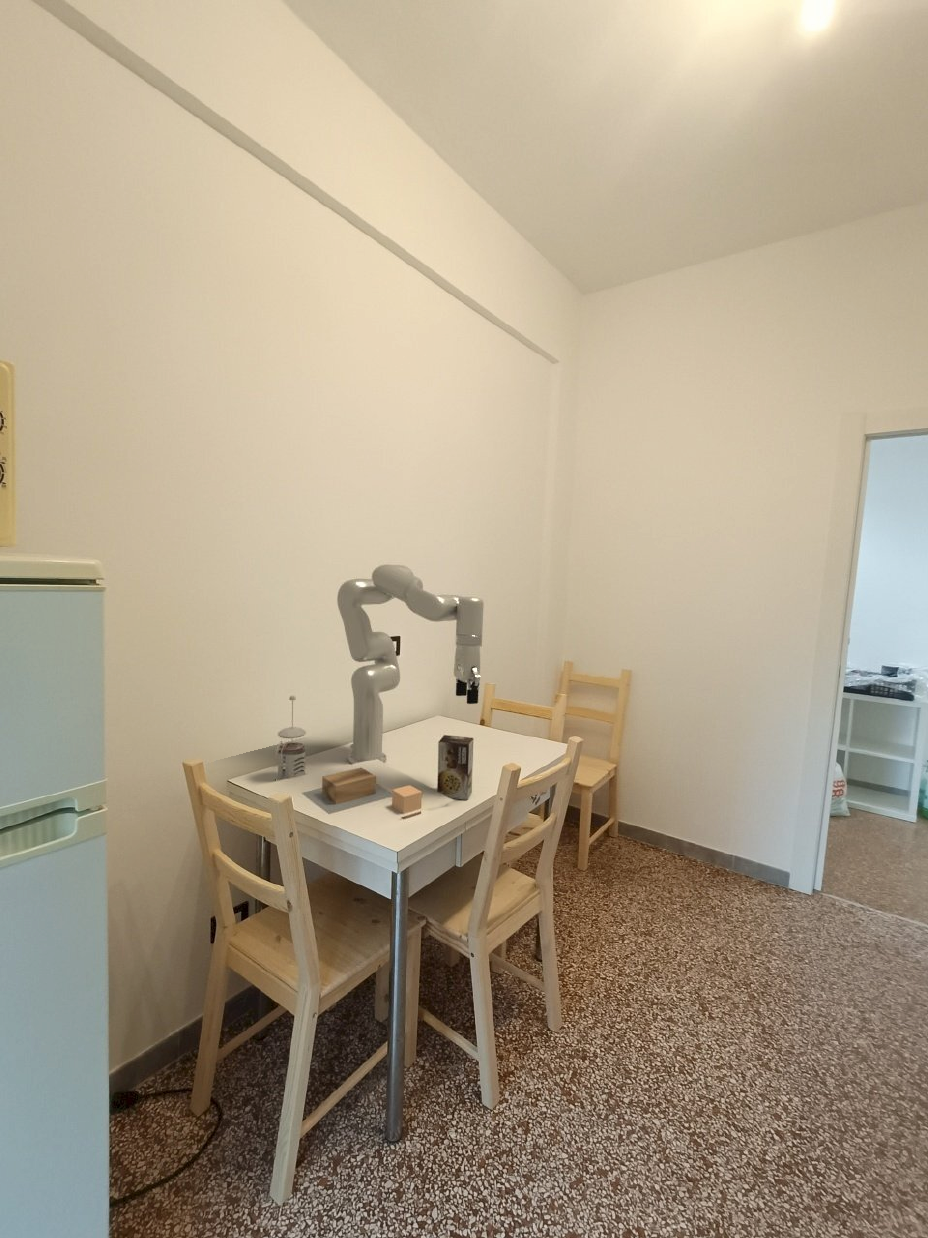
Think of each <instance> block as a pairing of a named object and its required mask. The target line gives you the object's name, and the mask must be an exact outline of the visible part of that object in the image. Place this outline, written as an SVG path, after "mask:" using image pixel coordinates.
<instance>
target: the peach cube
mask: <svg viewBox="0 0 928 1238" xmlns="http://www.w3.org/2000/svg"><path fill="white" fill-rule="evenodd" d="M391 792H392V797H391V807H392V808H394V809H395V810H397V811H398V812H400V813H402V814H407V813H410V814H407V815H404V816H400V818H401V820H407V819H410V818H413V817H416V816H419V815H422V810H421V809H422V801H423V800H422V798H423V796H422V795H423V792H422V791H421V790H419V789H417V788H415V787H414V786H412V785H409V784H408V785H405V786H401V787H398V788H394V789H392V791H391ZM417 810H418V811H417ZM419 810H421V811H419ZM415 811H417V812H415ZM411 812H414V813H411Z"/></svg>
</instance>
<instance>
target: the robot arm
mask: <svg viewBox="0 0 928 1238" xmlns="http://www.w3.org/2000/svg"><path fill="white" fill-rule="evenodd" d="M338 589H339V590H338V592H337V599H336V600H337V601H336V603H337V607H338V611H339V614H340V616H341V619H342V622H343V625H344V631H345V632H344V633H345V635H346V641H347V646H348V650H349V655H350V657H351V659H352V660H354V662H357V663H364V662H366V663H367V662H372V661H374V663H373V664H368V665H363V666H361V667H357V669H355V671H353V673H352V675H351V678H350V683H351V684H350V685H351V689H352V697H353V726H352V727H353V728H352V730H353V731H352V734H353V735H352V743H351V744H350V746H349V747H350V748H351V749H352V753H349V755H348V756H347V761H348V763H350V765H351V764H352V765H355V764H358V763H362V762H363V763H364V762H370V761H376V760H378V761H379V762H382V763H385V762H387V758H388V757H387V755H386V753H384V752H383V731H384V730H383V727H384V726H383V724H384V705H383V702H382V699H381V697H380V695H379V694H380V693H383V692H388V691H391V690H394V689H396V688H397V687H398V686H399V684H400V681H401V672H400V666H399V662H398V658H397V653H396V647H395V645H394V642H393V640H392V638H391V636H390V635H389V634H388V633H386V632H384V631H373V628H372V625H371V620H370V617H369V616H368V614H367V612H366V610H365V609H364V608H362V606H363V605H382V604H385V603H387V602H389V601H391V600H393V599H395V598H396V599H398V600H400V601H401V602H403V603H405V605H406V607H407V608H408V609H409V611H411V612H412V613H414V614H415V615H417V616H420V617H421V618H423V619H426V620H428V621H430V622H435V623H436V622H437V623H438V622H446V621H447V622H449V621H450V622H451V621H456V624H455V625H456V626H455V647H456V648H455V656H454V668H453V676H454V678H455V681H456V683H455V696H456V697H466V704H468V705H473V704H474V705H476V704H478V703H479V689H480V680H481V651H480V650H481V649H480V647H483V631H484V630H483V625H484V604H485V603H484V600H483V599H482V598H481V597H473V596H461V595H456V594H433V593H431V592H428V591H427V590H425V589H424V584H423V581H422V580H421V578H419V577H417V576H415V575H414V572H413V571H412V569H411V568H410V567H408V566H406V565H401V564H382V565H379V566H377V567H376V568H375V569H374V570H373V571H372V573H371V578H354V579H352V578H351V579H348V580H347V581H345V582H343V583H342V584H341V585H340V587H339V588H338Z"/></svg>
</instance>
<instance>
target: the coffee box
mask: <svg viewBox="0 0 928 1238" xmlns="http://www.w3.org/2000/svg"><path fill="white" fill-rule="evenodd" d="M437 744H438V747H437V748H438V749H437V751H438V752H437V753H438V754H437V756H438V757H437V784H436V785H437V787H436V788H437V789H436V790H437V792H438V793H439V794H442V795H443V796H445V797H447V798H449V799H457V800H458V799H459V800H469V798H470V796H471V794H472V793H473V791H472V790H473V766H474V763H473V761H474V737H469V736H459V735H446V734H444V735H443V736H442V737H441V738H440V740H439V741H437Z"/></svg>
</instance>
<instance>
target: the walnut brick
mask: <svg viewBox="0 0 928 1238" xmlns="http://www.w3.org/2000/svg"><path fill="white" fill-rule="evenodd" d="M321 780H322V781H321V783H322V787H321V788H322V795H324V796H325V797H326V798H328V799H329V800H331V801H332V802H333V803H335V804H340V803H344V802H347V801H351V800H355V799H358V798H362V797H366V796H369V795H373V794H376V784H377V776H376V775H375V774H373V773H372V772H370V771H368V770H367V769H364V768H363V767H358V768H353V769H349V770H344V771H341V772H336V773H332V774H326V775H323V776H322V778H321Z"/></svg>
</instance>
